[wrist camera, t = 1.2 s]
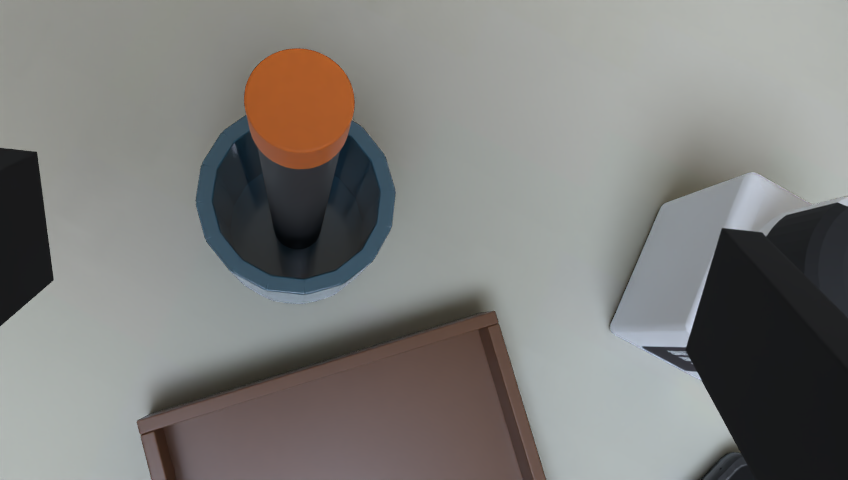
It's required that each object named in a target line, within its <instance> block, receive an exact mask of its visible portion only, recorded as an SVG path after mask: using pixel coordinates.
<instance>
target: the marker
mask: <svg viewBox="0 0 848 480" xmlns="http://www.w3.org/2000/svg"><path fill="white" fill-rule="evenodd" d="M354 104H355V101H354V93H353V89H352V86H351V83H350V81H349V79H348V77H347V75H346V74H345V72H344V71H343V70H342V69H341V68H340V66H339V65H338V64H336V63H335V62H334V61H333V60H331V59H330V58H328V57H327V56H325V55H323V54H321V53H318V52H316V51H312V50H308V49H300V48H299V49H286V50H282V51H279V52H276V53H274V54H272V55H270V56H268V57H267V58H265V59H264V60H263V61H261V62H260V63H259V64H258V65H257V66H256V67H255V69H254V70H253V72H252V73H251V75H250V77H249V79H248V81H247V84H246V88H245V93H244V105H245V110H246V115H247V120H248V124H249V129H250V133H251V136H252V138H253V140H254V142H255V144H256V146H257V147H258V152H259V157H260V162H261V167H262V172H263V177H264V182H265V187H266V192H267V197H268V202H269V207H270V212H271V218H272V223H273V228H274V232H275V235H276V237H277V239H278V240H279V241H280V242H281V243H282V244H283V245H284V246H286V247H288V248H291V249H304V248H307V247H309V246H311V245H312V244H313V243H314V242H315V241H316V240H317V239H318V237H319V235H320V232H321V228H322V224H323V220H324V215H325V211H326V207H327V203H328V199H329V194H330V190H331V186H332V182H333V178H334V173H335V169H336V165H337V161H338V157H339V153H340V150H341V148H342V147H343V145H344V143H345V141H346V139H347V136H348V133H349V129H350V125H351V121H352V117H353V113H354Z"/></svg>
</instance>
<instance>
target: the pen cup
mask: <svg viewBox="0 0 848 480" xmlns="http://www.w3.org/2000/svg"><path fill="white" fill-rule="evenodd" d="M395 194H396V192H395V187H394V184H393V180H392V177H391V173H390V170H389V167H388V163H387V160H386V157H385V156H384V153H383V152H382V151H381V150H380V148H379V147H378V146H377V145H376V143H375V142H374V141H373V140H372V138H371V137H370V136H369V135H368V133H367V132H366V131H365V129H364V128H363V127H361V126H360V125H359V124H357V123H355V122H354V121H351V125H350V129H349V133H348V136H347V139H346V141H345V143H344V145H343V147H342V148H341V150H340V153H339V157H338V161H337V165H336V169H335V173H334V178H333V182H332V186H331V190H330V194H329V199H328V203H327V207H326V211H325V215H324V220H323V224H322V228H321V232H320V235H319V237H318V239H317V240H316V241H315V242H314V243H313V244H312V245H311V246H309V247H307V248H304V249H291V248H288V247H286V246H284V245H283V244H282V243H281V242H280V241H279V240H278V239H277V237H276V235H275V232H274V228H273V223H272V218H271V212H270V207H269V202H268V197H267V192H266V187H265V182H264V177H263V172H262V167H261V162H260V157H259V152H258V147H257V146H256V144H255V142H254V140H253V138H252V136H251V133H250V129H249V124H248V120H247V115H245V116H244V117H242V118H241V119H239V120H238V121H237V122H235V123H234V124H232V125H231V126H229V127H228V128H226V129H225V130H224V131H223V133H221V134H220V135H219V137H218V139H217V140H216V142H215V143H214V145H213V146H212V148H211V150H210V151H209V153H208V154H207V156H206V157H205V159H204V161H203V162H202V165H201V168H200V175H199V181H198V188H197V194H196V207H197V211H198V215H199V218H200V222H201V226H202V230H203V233H204V237H205V239H206V242H207V243H208V244H209V246H210V247H211V248H212V249H213V251H214V252H215V253H216V254H217V256H218V257H219V258H220V259H221V261H222V262H223V263H224V264H225V266H226V267H227V268H228V269H229V271H230V272H231V273H232V274H233V275H234V276H235V277H236V278H237V279H238V280H239V281H240V282H241V283H242V284H243V285H245V286H246V287H247V288H249V289H251V290H253V291H254V292H256V293H258V294H259V295H261V296H264V297H266V298H268V299H269V300H273V301H277V302H283V303H290V304H306V303H310V302H315V301H319V300H322V299H324V298H327V297H330V296H333V295H335V294H336V293H337V292H339V291H340V290H341V289H343V288H344V287H345V286H346V285H347V284H349V283H350V282H351V281H353V280H354V279H355V278H356V277H357V276H358V275H359V274H360V273H361V272H362V271H363V270H364V269H365V268H366V267H367V266H368V265H369V264H371V263H372V261H373V260H374V259H375V257H376V255H377V254H378V252H379V250H380V248H381V246H382V245H383V243H384V241H385V239H386V237H387V236H388V234H389V232H390V230H391V227H392V222H393V212H394V203H395Z"/></svg>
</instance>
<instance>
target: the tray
mask: <svg viewBox="0 0 848 480" xmlns="http://www.w3.org/2000/svg"><path fill="white" fill-rule="evenodd" d="M497 323H498V319H497V316H496V312H495V311H490V312H482V313H478V314H475V315H472V316H469V317H465V318H462V319H459V320H455V321H452V322H449V323H446V324H442V325H439V326H436V327H433V328H429V329H426V330H423V331H420V332H416V333H413V334H410V335H407V336H403V337H400V338H397V339H393V340H390V341H387V342H384V343H380V344H377V345H374V346H371V347H367V348H364V349H361V350H358V351H354V352H351V353H348V354H345V355H341V356H338V357H335V358H331V359H328V360H325V361H322V362H318V363H315V364H312V365H309V366H305V367H302V368H299V369H296V370H292V371H289V372H286V373H283V374H279V375H276V376H273V377H269V378H266V379H263V380H260V381H256V382H253V383H250V384H247V385H243V386H240V387H237V388H234V389H230V390H227V391H224V392H221V393H217V394H214V395H211V396H208V397H204V398H201V399H198V400H194V401H191V402H188V403H185V404H181V405H178V406H175V407H172V408H168V409H165V410H162V411H159V412H155V413H152V414H149V415H147V416H145V417H143V418H141V419H139V420H138V421H137V425H138V429H139V433H140V434H142V435H141V440H142V444H143V448H144V452H145V456H146V460H147V464H148V468H149V471H150V475H151V479H152V480H546V478H545V474H544V471H543V468H542V465H541V461H540V458H539V455H538V451H537V448H536V445H535V441H534V438H533V435H532V431H531V428H530V425H529V422H528V418H527V415H526V412H525V408H524V405H523V402H522V398H521V395H520V392H519V389H518V385H517V382H516V379H515V375H514V372H513V369H512V365H511V362H510V359H509V356H508V352H507V349H506V346H505V342H504V339H503V336H502V332H501V329H500V326H499V324H497Z"/></svg>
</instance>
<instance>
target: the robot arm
mask: <svg viewBox="0 0 848 480" xmlns="http://www.w3.org/2000/svg"><path fill="white" fill-rule="evenodd" d="M53 280H54V279H53V271H52V264H51V256H50V248H49V241H48V233H47V226H46V218H45V210H44V203H43V195H42V187H41V180H40V172H39V164H38V157H37V152H32V151H23V150H14V149H5V148H0V326H1V325H2V324H3V323H4V322H6V321H7V320H8V319H9V318H10V317H11V316H13V315H14V314H15V313H16V312H17V311H18V310H20V309H21V308H22V307H23V306H24V305H25V304H26V303H28V302H29V301H30V300H31V299H32V298H33V297H35V296H36V295H37V294H38V293H39V292H40V291H42V290H43V289H44V288H45V287H46V286H47V285H48V284H50V283H51V282H52V281H53ZM685 350H686V352H687V354H688V356H689V358H690V360H691V362H692V363H693V365H694V367H695V369H696V371H697V373H698V374H699V376H700V378H701V380H702V382H703V384H704V386H705V387H706V389H707V391H708V393H709V395H710V397H711V399H712V400H713V402H714V404H715V406H716V408H717V410H718V411H719V413H720V415H721V417H722V419H723V421H724V423H725V424H726V426H727V428H728V430H729V432H730V434H731V435H732V437H733V439H734V441H735V443H736V445H737V447H738V448H739V450H740V452H741V454H742V456H743V458H744V460H745V461H746V463H747V465H748V467H749V469H750V471H751V472H752V474H753V476H754V478H755V480H848V317H847V316H846V315H845V314H844V313H842V312H841V311H840V310H839V309H838V308H837V307H836V306H835V305H834V304H833V303H832V302H831V301H830V300H829V299H828V298H827V297H826V296H825V295H824V294H823V293H822V292H821V291H820V290H819V289H818V288H817V287H816V286H815V285H814V284H813V283H812V282H811V281H810V280H809V279H808V278H807V277H806V276H805V275H804V274H803V273H802V272H801V271H800V270H799V269H798V268H797V267H796V266H795V265H794V264H793V263H792V262H791V261H790V260H789V259H788V258H787V257H786V256H785V255H784V254H783V253H782V252H781V251H780V250H779V249H778V248H777V247H776V246H775V245H774V244H773V243H772V242H771V241H770V240H769V239H768V238H767V237H766V236H765V235H764V234H763V233H762V232H755V231H746V230H737V229H728V228H722V229H721V232H720V236H719V239H718V242H717V246H716V249H715V252H714V256H713V259H712V262H711V266H710V269H709V272H708V276H707V279H706V282H705V286H704V289H703V292H702V296H701V299H700V302H699V306H698V309H697V312H696V316H695V319H694V322H693V326H692V329H691V332H690V336H689V339H688V342H687V346H686V349H685Z"/></svg>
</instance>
